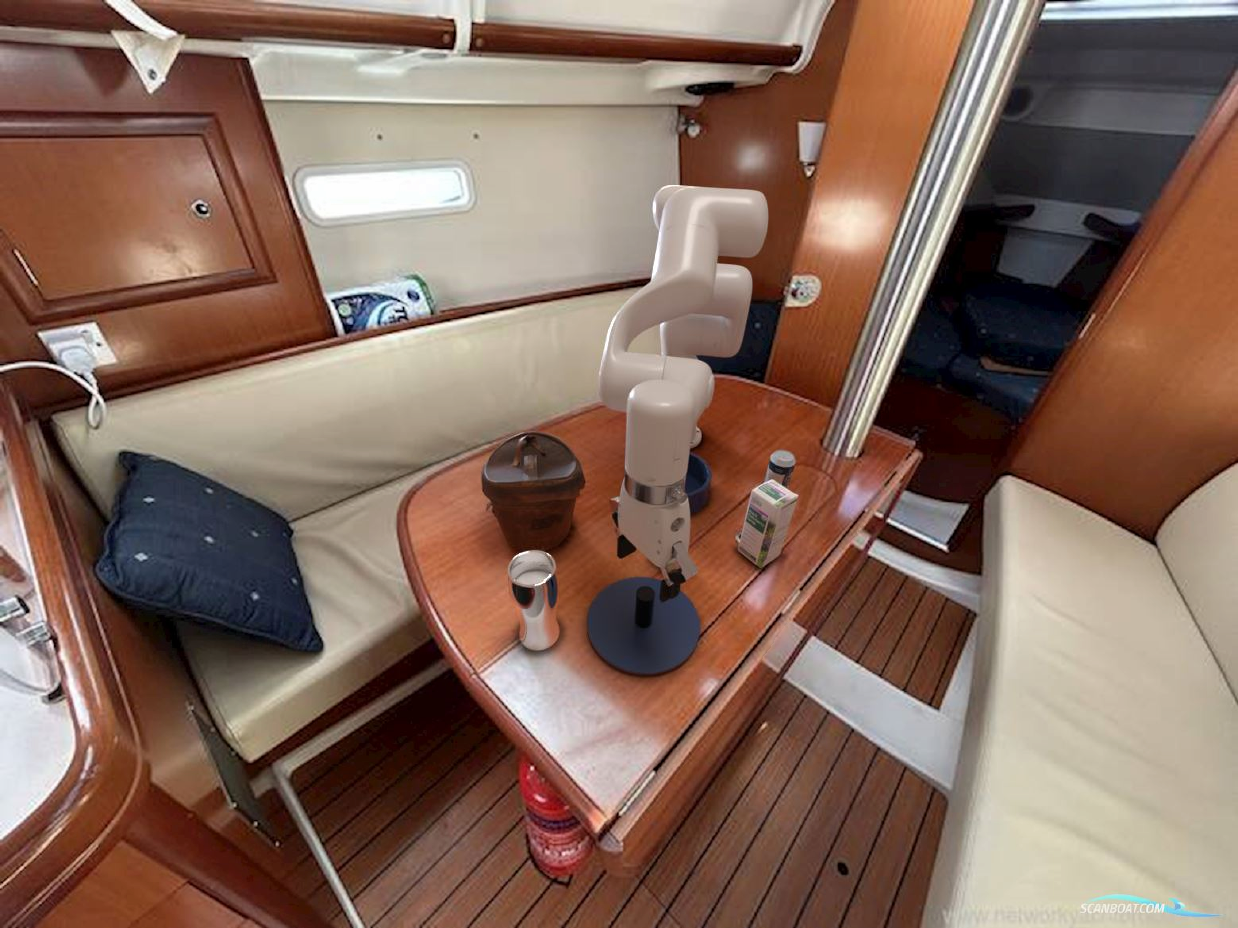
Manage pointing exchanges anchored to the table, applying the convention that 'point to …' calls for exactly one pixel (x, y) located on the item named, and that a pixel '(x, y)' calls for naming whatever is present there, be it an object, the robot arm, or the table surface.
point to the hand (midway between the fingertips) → (647, 574)
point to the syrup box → (766, 522)
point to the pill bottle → (781, 467)
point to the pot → (697, 482)
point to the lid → (642, 627)
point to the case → (533, 489)
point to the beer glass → (535, 597)
